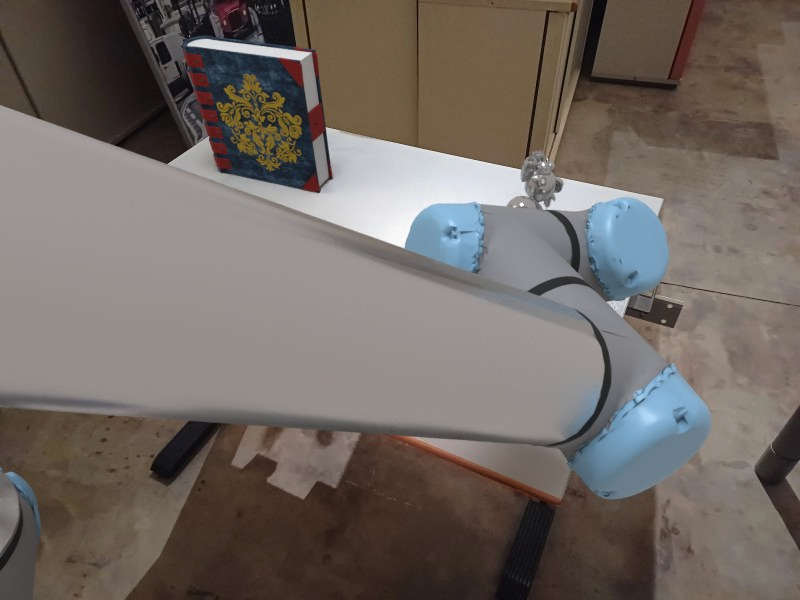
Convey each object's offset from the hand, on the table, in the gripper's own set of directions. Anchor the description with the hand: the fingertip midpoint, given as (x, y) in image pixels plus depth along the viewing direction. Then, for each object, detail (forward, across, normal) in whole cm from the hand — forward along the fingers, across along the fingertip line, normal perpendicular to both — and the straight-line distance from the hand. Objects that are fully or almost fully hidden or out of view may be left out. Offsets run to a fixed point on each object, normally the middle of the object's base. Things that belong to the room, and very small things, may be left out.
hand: (407, 314), depth 72 cm
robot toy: (+7, +31, -3) cm, 32 cm away
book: (+43, +12, +33) cm, 55 cm away
